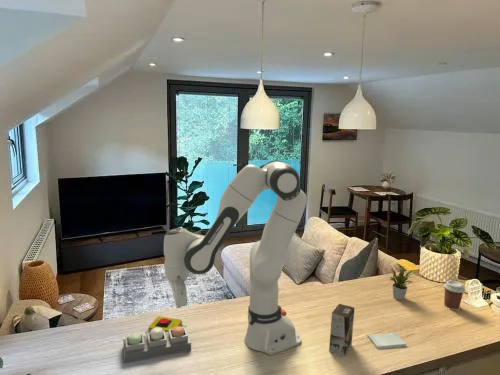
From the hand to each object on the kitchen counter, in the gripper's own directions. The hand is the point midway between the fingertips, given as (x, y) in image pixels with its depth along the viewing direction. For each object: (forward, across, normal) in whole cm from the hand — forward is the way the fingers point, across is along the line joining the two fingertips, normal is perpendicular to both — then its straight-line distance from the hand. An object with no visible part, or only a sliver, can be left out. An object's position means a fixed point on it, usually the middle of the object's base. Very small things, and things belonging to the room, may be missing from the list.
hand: (178, 306), depth 138 cm
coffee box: (+19, -20, -59) cm, 65 cm away
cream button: (+12, +1, +8) cm, 15 cm away
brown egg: (+14, +2, 0) cm, 14 cm away
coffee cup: (+20, -8, -129) cm, 130 cm away
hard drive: (+20, -22, -79) cm, 84 cm away
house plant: (+20, +6, -110) cm, 112 cm away
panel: (+17, +2, +8) cm, 19 cm away
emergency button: (+17, +13, +4) cm, 22 cm away
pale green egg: (+13, +1, +16) cm, 21 cm away
